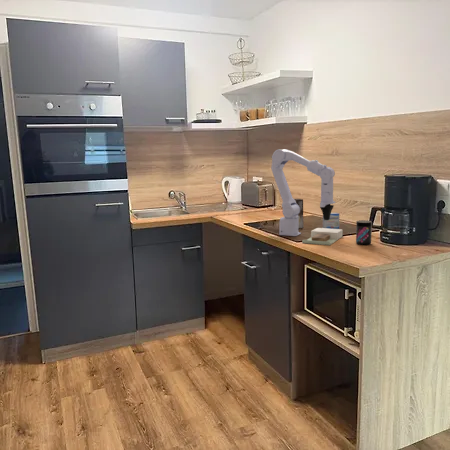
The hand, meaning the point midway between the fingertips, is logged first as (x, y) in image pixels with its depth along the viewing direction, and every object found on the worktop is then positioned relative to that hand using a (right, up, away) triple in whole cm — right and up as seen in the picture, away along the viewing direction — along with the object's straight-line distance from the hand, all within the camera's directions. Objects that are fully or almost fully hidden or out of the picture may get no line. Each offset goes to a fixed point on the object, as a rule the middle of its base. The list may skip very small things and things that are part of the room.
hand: (326, 220), depth 206 cm
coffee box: (-11, -4, +30) cm, 32 cm away
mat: (-5, -10, -8) cm, 14 cm away
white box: (+1, -9, +2) cm, 9 cm away
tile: (-4, -10, -6) cm, 12 cm away
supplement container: (+13, -11, -15) cm, 23 cm away
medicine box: (+8, -5, +24) cm, 25 cm away
